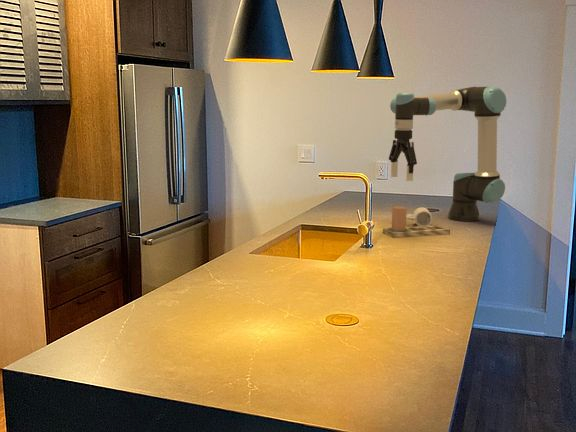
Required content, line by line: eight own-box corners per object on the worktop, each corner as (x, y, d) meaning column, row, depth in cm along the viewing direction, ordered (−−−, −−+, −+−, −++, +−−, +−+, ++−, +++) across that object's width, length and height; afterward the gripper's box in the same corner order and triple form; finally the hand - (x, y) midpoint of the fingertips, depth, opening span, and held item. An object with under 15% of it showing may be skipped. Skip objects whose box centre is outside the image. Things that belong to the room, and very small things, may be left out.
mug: (429, 223, 312) (430, 207, 311) (432, 228, 302) (433, 211, 301) (404, 223, 313) (405, 206, 312) (405, 227, 304) (406, 210, 302)
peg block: (400, 233, 290) (401, 206, 287) (405, 235, 285) (406, 208, 283) (391, 233, 288) (392, 207, 286) (396, 236, 284) (397, 208, 282)
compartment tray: (437, 229, 299) (438, 224, 298) (450, 234, 290) (450, 229, 289) (382, 232, 290) (383, 228, 289) (393, 237, 281) (393, 232, 280)
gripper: (382, 128, 290) (380, 175, 294) (410, 131, 267) (408, 182, 271) (397, 127, 293) (395, 174, 297) (426, 131, 270) (424, 182, 274)
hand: (401, 178), depth 284 cm, fingers open, 13 cm apart
